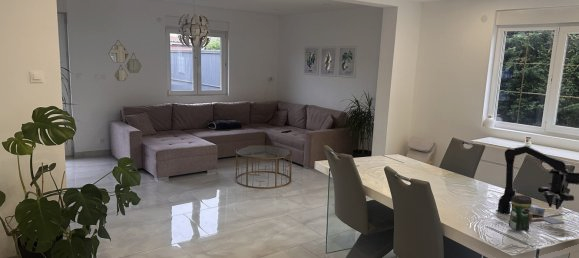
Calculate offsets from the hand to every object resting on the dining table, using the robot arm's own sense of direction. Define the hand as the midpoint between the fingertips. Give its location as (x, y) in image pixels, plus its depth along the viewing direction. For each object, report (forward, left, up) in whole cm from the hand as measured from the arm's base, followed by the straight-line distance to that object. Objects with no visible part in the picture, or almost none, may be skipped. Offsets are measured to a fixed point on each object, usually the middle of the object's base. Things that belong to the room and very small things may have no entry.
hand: (553, 208), depth 239 cm
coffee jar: (-30, -6, -8) cm, 32 cm away
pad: (0, 0, -8) cm, 8 cm away
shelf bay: (-8, +6, -8) cm, 13 cm away
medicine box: (-1, +7, -5) cm, 9 cm away
